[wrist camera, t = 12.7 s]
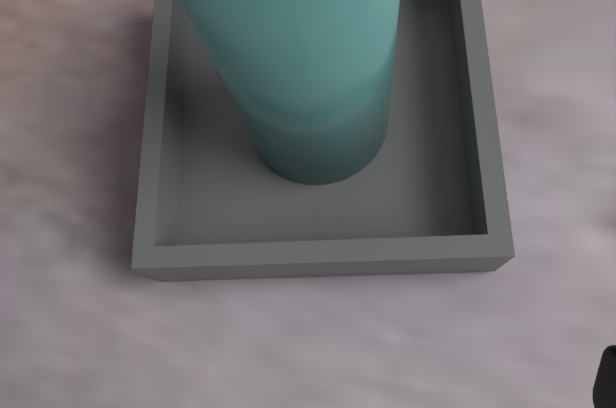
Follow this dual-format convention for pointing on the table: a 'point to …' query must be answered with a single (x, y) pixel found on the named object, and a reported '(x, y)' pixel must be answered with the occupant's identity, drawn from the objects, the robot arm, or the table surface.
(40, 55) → the table surface
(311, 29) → the teal cylinder
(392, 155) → the tray
